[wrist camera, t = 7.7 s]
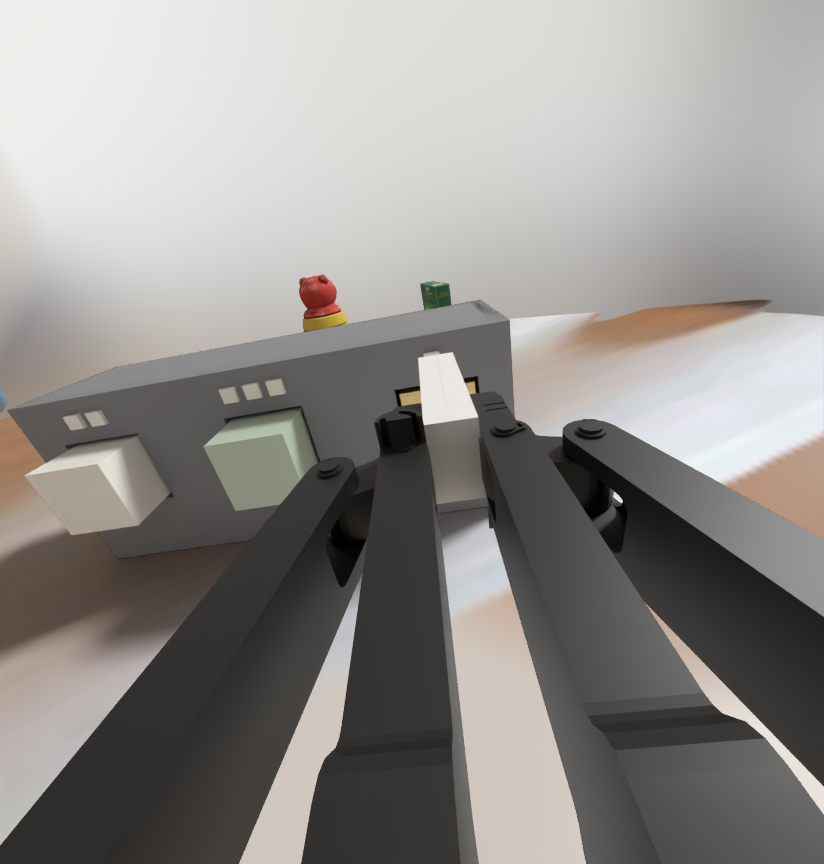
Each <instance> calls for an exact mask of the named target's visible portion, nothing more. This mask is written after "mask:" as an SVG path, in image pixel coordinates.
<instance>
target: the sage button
mask: <svg viewBox="0 0 824 864" xmlns="http://www.w3.org/2000/svg"><path fill="white" fill-rule="evenodd" d="M203 447H204V449H205V451H206V453H207V455H208V457H209V459H210V461H211V463H212V465H213V467H214V469H215V471H216V473H217V475H218V477H219V479H220V481H221V483H222V485H223V487H224V489H225V491H226V493H227V495H228V497H229V499H230V501H231V503H232V505H233V507H234V509H235V511H239V510H246V509H253V508H260V507H266V506H273V505H280V504H281V503H282V502H283V500H284V499H285V498H286V497H287V496H288V494H289V493H290V492H291V491H292V489H293V488H294V487H295V486H296V485H297V483H298V482H299V481H300V480H301V478H302V477H303V476H304V475H305V474H306V472H307V471H308V470H309V469H310V468H311V467H312V466H314V465H315V464H317V463H319V462H321V461H320V458H319V455H318V453H317V450H316V447H315V444H314V441H313V438H312V435H311V432H310V429H309V426H308V423H307V420H306V417H305V414H304V411H303V408H302V406H296V407H291V408H285V409H279V410H273V411H267V412H261V413H255V414H249V415H243V416H237V417H234V418H233V419H232V420H231V421H230V422H229V423H228V424H227V425H226V426H225V427H224V428H222V429H221V430H220V431H219V432H218V433H217V434H216V435H215V436H214V437H213V438H212V439H211V440H210V441H209V442H208V443H207V444H206V445H205V446H203Z"/></svg>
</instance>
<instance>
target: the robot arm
mask: <svg viewBox="0 0 824 864" xmlns="http://www.w3.org/2000/svg"><path fill="white" fill-rule="evenodd" d="M418 363H419V377H420V390H421V403H418V404H411V405H405V406H398V407H396V408H395V409H394V410H393V411H390V412H388V413H385V414H383V415H381V416H380V417H378V418H377V419H376V421H375V422H374V425H375V430H376V434H377V438H378V442H379V446H380V454H379V457H378V458H377V459H375V460H373V461H371V462H369V463H366V464H364V465H361V466H358V467H355V465H354V462H353V460H351V459H349V458H347V457H331V458H328V459H324V460H322V461H321V462H319V463H317V464H315V465H314V466H312V467H311V468H310V469H309V470H308V471H307V472H306V474H305V475H304V476H303V477H302V478H301V480H300V481H299V482H298V483H297V485H296V486H295V487H294V488H293V489H292V491H291V492H290V493H289V494H288V496H287V497H286V498H285V499H284V500H283V502H282V503H281V504H280V505H279V507H278V508H277V509H276V510H275V511H274V513H273V514H272V515H271V516H270V517H269V519H268V520H267V521H266V522H265V524H264V525H263V526H262V527H261V528H260V530H259V531H258V532H257V533H256V535H255V536H254V537H253V538H252V539H251V541H250V542H249V543H248V544H247V546H246V547H245V548H244V549H243V550H242V552H241V553H240V554H239V555H238V556H237V558H236V559H235V560H234V561H233V563H232V564H231V565H230V566H229V567H228V569H227V570H226V571H225V572H224V574H223V575H222V576H221V577H220V578H219V580H218V581H217V582H216V583H215V585H214V586H213V587H212V588H211V589H210V591H209V592H208V593H207V594H206V595H205V597H204V598H203V599H202V600H201V602H200V603H199V604H198V605H197V606H196V608H195V609H194V610H193V611H192V613H191V614H190V615H189V616H188V617H187V619H186V620H185V621H184V622H183V624H182V625H181V626H180V627H179V628H178V630H177V631H176V632H175V633H174V634H173V636H172V637H171V638H170V639H169V641H168V642H167V643H166V644H165V645H164V647H163V648H162V649H161V650H160V652H159V653H158V654H157V655H156V656H155V658H154V659H153V660H152V661H151V663H150V664H149V665H148V666H147V667H146V669H145V670H144V671H143V672H142V673H141V675H140V676H139V677H138V678H137V680H136V681H135V682H134V683H133V684H132V686H131V687H130V688H129V689H128V691H127V692H126V693H125V694H124V695H123V697H122V698H121V699H120V700H119V702H118V703H117V704H116V705H115V706H114V708H113V709H112V710H111V711H110V712H109V714H108V715H107V716H106V717H105V719H104V720H103V721H102V722H101V723H100V725H99V726H98V727H97V728H96V730H95V731H94V732H93V733H92V734H91V736H90V737H89V738H88V739H87V741H86V742H85V743H84V744H83V745H82V747H81V748H80V749H79V750H78V751H77V753H76V754H75V755H74V756H73V758H72V759H71V760H70V761H69V762H68V764H67V765H66V766H65V767H64V769H63V770H62V771H61V772H60V773H59V775H58V776H57V777H56V778H55V780H54V781H53V782H52V783H51V784H50V786H49V787H48V788H47V789H46V790H45V792H44V793H43V794H42V795H41V797H40V798H39V799H38V800H37V801H36V803H35V804H34V805H33V806H32V808H31V809H30V810H29V811H28V812H27V814H26V815H25V816H24V817H23V819H22V820H21V821H20V822H19V823H18V825H17V826H16V827H15V828H14V829H13V831H12V832H11V833H10V834H9V836H8V837H7V838H6V839H5V840H4V842H3V843H2V844H1V845H0V864H239V862H240V859H241V857H242V855H243V852H244V850H245V847H246V845H247V843H248V840H249V838H250V836H251V833H252V831H253V829H254V826H255V824H256V822H257V819H258V817H259V814H260V812H261V810H262V807H263V805H264V803H265V800H266V798H267V796H268V793H269V791H270V789H271V786H272V784H273V781H274V779H275V777H276V774H277V772H278V769H279V767H280V765H281V762H282V760H283V758H284V755H285V753H286V751H287V748H288V746H289V744H290V741H291V739H292V737H293V734H294V732H295V729H296V727H297V725H298V722H299V720H300V718H301V715H302V713H303V710H304V708H305V706H306V704H307V701H308V699H309V696H310V694H311V692H312V689H313V687H314V685H315V682H316V680H317V678H318V675H319V673H320V670H321V668H322V666H323V663H324V661H325V659H326V656H327V654H328V652H329V649H330V647H331V644H332V642H333V640H334V637H335V635H336V633H337V630H338V628H339V626H340V623H341V621H342V618H343V616H344V614H345V611H346V609H347V607H348V604H349V602H350V600H351V597H352V595H353V592H354V590H355V588H356V585H357V583H358V581H359V578H360V576H361V574H362V571H363V576H362V583H361V590H360V597H359V605H358V612H357V619H356V626H355V633H354V641H353V648H352V655H351V662H350V669H349V676H348V684H347V691H346V698H345V705H344V712H343V720H342V727H341V732H340V737H339V740H338V743H337V746H336V748H335V749H334V750H333V751H332V752H331V753H330V754H329V755H328V756H327V757H326V758H325V760H324V762H323V764H322V767H321V770H320V772H319V775H318V779H317V782H316V787H315V791H314V795H313V800H312V804H311V810H310V816H309V822H308V828H307V833H306V839H305V845H304V851H303V856H302V862H301V864H479V863H478V856H477V849H476V841H475V834H474V827H473V819H472V811H471V801H470V792H469V783H468V774H467V765H466V757H465V747H464V738H463V730H462V721H461V712H460V702H459V693H458V684H457V677H456V676H457V675H456V668H455V658H454V649H453V640H452V631H451V622H450V613H449V604H448V595H447V586H446V577H445V568H444V559H443V550H442V541H441V532H440V523H439V514H438V508H437V504H442V503H449V502H457V501H464V500H472V499H479V498H485V490H486V493H487V504H488V516H489V528H494V531H495V535H496V538H497V541H498V545H499V548H500V552H501V555H502V559H503V562H504V565H505V569H506V572H507V576H508V579H509V582H510V586H511V589H512V593H513V596H514V600H515V603H516V606H517V610H518V613H519V617H520V620H521V624H522V627H523V630H524V634H525V637H526V640H527V644H528V648H529V651H530V654H531V658H532V661H533V665H534V668H535V672H536V675H537V678H538V682H539V685H540V688H541V692H542V695H543V699H544V702H545V706H546V709H547V713H548V716H549V719H550V723H551V726H552V729H553V733H554V737H555V740H556V743H557V747H558V750H559V754H560V757H561V761H562V764H563V767H564V771H565V774H566V778H567V781H568V784H569V788H570V791H571V795H572V798H573V802H574V806H575V809H576V813H577V818H578V822H579V827H580V833H581V838H582V844H583V850H584V855H585V860H586V864H824V815H823V813H822V812H821V811H820V809H819V808H818V806H817V805H816V804H815V802H814V801H813V800H812V798H811V797H810V795H809V794H808V793H807V791H806V790H805V788H804V787H803V786H802V784H801V783H800V781H799V780H798V779H797V778H796V776H795V775H794V773H793V772H792V770H791V769H790V768H789V766H788V765H787V764H786V763H785V761H784V760H783V759H782V758H781V757H780V755H778V753H777V752H776V751H775V749H774V748H773V747H772V746H771V745H770V743H769V742H768V741H767V740H766V739H765V738H764V737H763V736H762V735H761V734H760V733H758V732H757V731H756V730H755V729H754V728H752V727H751V726H750V725H749V724H748V723H746V722H745V721H742V720H739V719H736V718H734V717H730V716H728V715H725V714H723V713H721V712H720V711H719V710H718V709H717V708H716V707H714V706H713V704H712V703H711V702H710V701H709V699H708V698H707V697H706V695H705V694H704V693H703V691H702V690H701V688H700V687H699V685H698V684H697V682H696V680H695V679H694V677H693V676H692V674H691V673H690V672H689V670H688V668H687V667H686V665H685V664H684V662H683V661H682V659H681V658H680V656H679V654H678V653H677V651H676V650H675V648H674V647H673V645H672V644H671V642H670V641H669V639H668V638H667V636H666V635H665V633H664V631H663V630H662V629H661V627H660V625H659V624H658V622H657V621H656V619H655V618H654V616H653V615H652V613H651V612H650V610H649V608H648V607H647V605H648V606H649V607H650V608H651V609H652V610H653V611H654V612H655V613H656V614H657V615H658V616H659V617H660V618H661V619H662V620H663V621H664V622H665V623H666V624H667V625H668V626H669V627H670V628H671V630H672V631H673V632H674V633H675V634H676V635H677V636H678V637H679V638H680V639H681V640H682V641H683V642H684V643H685V644H686V645H687V646H688V647H689V648H690V649H691V650H692V651H693V652H694V653H695V654H696V655H697V656H698V657H699V658H700V659H701V660H702V661H703V662H704V663H705V664H706V666H707V667H709V669H710V670H711V671H712V672H713V673H714V674H715V675H716V676H717V677H718V678H719V679H720V680H721V681H722V682H723V683H724V684H725V685H726V686H727V687H728V688H729V689H730V690H731V691H732V692H733V693H734V694H735V695H736V696H737V697H738V698H739V700H740V701H741V702H742V703H743V704H744V705H745V706H746V707H747V708H748V709H749V710H750V711H751V712H752V713H753V714H754V715H755V716H756V717H757V718H758V719H759V720H760V721H761V722H762V723H763V724H764V725H765V726H766V727H767V728H768V729H769V730H770V731H771V732H772V733H773V734H774V736H776V738H777V739H779V741H780V742H781V743H782V744H783V745H784V746H785V747H786V748H787V749H788V750H789V751H790V752H791V753H792V754H793V755H794V756H795V757H796V758H797V759H798V760H799V761H800V762H801V763H802V764H803V765H804V766H805V767H806V768H807V770H808V771H810V773H811V774H812V775H814V777H815V778H816V779H817V780H818V781H819V782H820V783H821V784H822V785H823V786H824V539H822V538H820V537H818V536H816V535H815V534H813V533H811V532H809V531H807V530H805V529H803V528H802V527H800V526H798V525H796V524H794V523H792V522H791V521H789V520H787V519H785V518H783V517H781V516H780V515H778V514H776V513H774V512H772V511H770V510H769V509H767V508H765V507H763V506H761V505H759V504H758V503H756V502H754V501H752V500H750V499H748V498H747V497H745V496H743V495H741V494H739V493H737V492H736V491H734V490H732V489H730V488H728V487H726V486H725V485H723V484H721V483H719V482H717V481H715V480H714V479H712V478H710V477H708V476H706V475H704V474H703V473H701V472H699V471H697V470H695V469H693V468H692V467H690V466H688V465H686V464H684V463H682V462H681V461H679V460H677V459H675V458H673V457H671V456H670V455H668V454H666V453H664V452H662V451H660V450H659V449H657V448H655V447H653V446H651V445H649V444H648V443H646V442H644V441H642V440H640V439H638V438H637V437H635V436H633V435H631V434H629V433H627V432H625V431H624V430H622V429H620V428H618V427H616V426H614V425H612V424H610V423H607V422H604V421H598V420H595V419H589V420H588V419H583V420H579V421H574V422H571V423H569V424H567V425H566V426H565V427H564V428H563V437H549V436H538V435H535V434H534V432H533V431H532V429H531V428H530V427H529V426H528V425H527V424H526V423H524V422H521V421H518V420H516V419H515V418H514V416H513V414H512V413H511V411H510V410H509V408H508V406H507V405H506V403H505V401H504V400H503V398H502V396H501V395H499V394H497V393H495V392H493V391H489V392H483V393H476V394H470V395H469V392H468V390H467V387H466V385H465V382H464V380H463V377H462V375H461V372H460V370H459V367H458V365H457V362H456V360H455V357H454V355H453V352H451V353H445V354H438V355H432V356H426V357H420V358H418ZM6 406H7V399H6V397H5V395H4V393H3V391H2V390H1V388H0V412H2V411H3V410H4V409H5V408H6ZM484 487H485V488H484ZM614 491H615V492H616V493H617V494H618V495H619V496H620V497H621V498H622V500H623V503H620V502H618V501H617V500H616V499H615V498H613V495H614ZM645 603H646V604H647V605H646V604H645Z"/></svg>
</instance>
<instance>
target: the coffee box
mask: <svg viewBox="0 0 824 864" xmlns="http://www.w3.org/2000/svg"><path fill="white" fill-rule="evenodd" d="M421 292H422V298H423V305H424V310H428V309H433V308H439V307H444V306H450V305H451V297H450V288H449V284H447V283H440V282H434V281H432V282H426V283H422V284H421Z"/></svg>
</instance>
